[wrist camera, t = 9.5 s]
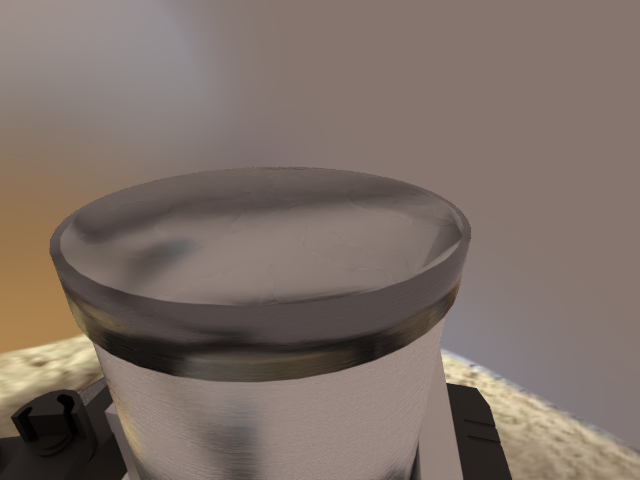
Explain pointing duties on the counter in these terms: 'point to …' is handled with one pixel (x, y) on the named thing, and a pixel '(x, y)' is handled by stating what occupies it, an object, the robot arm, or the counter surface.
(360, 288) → the lidded honey jar
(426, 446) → the robot arm
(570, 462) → the counter surface
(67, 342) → the counter surface
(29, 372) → the counter surface
